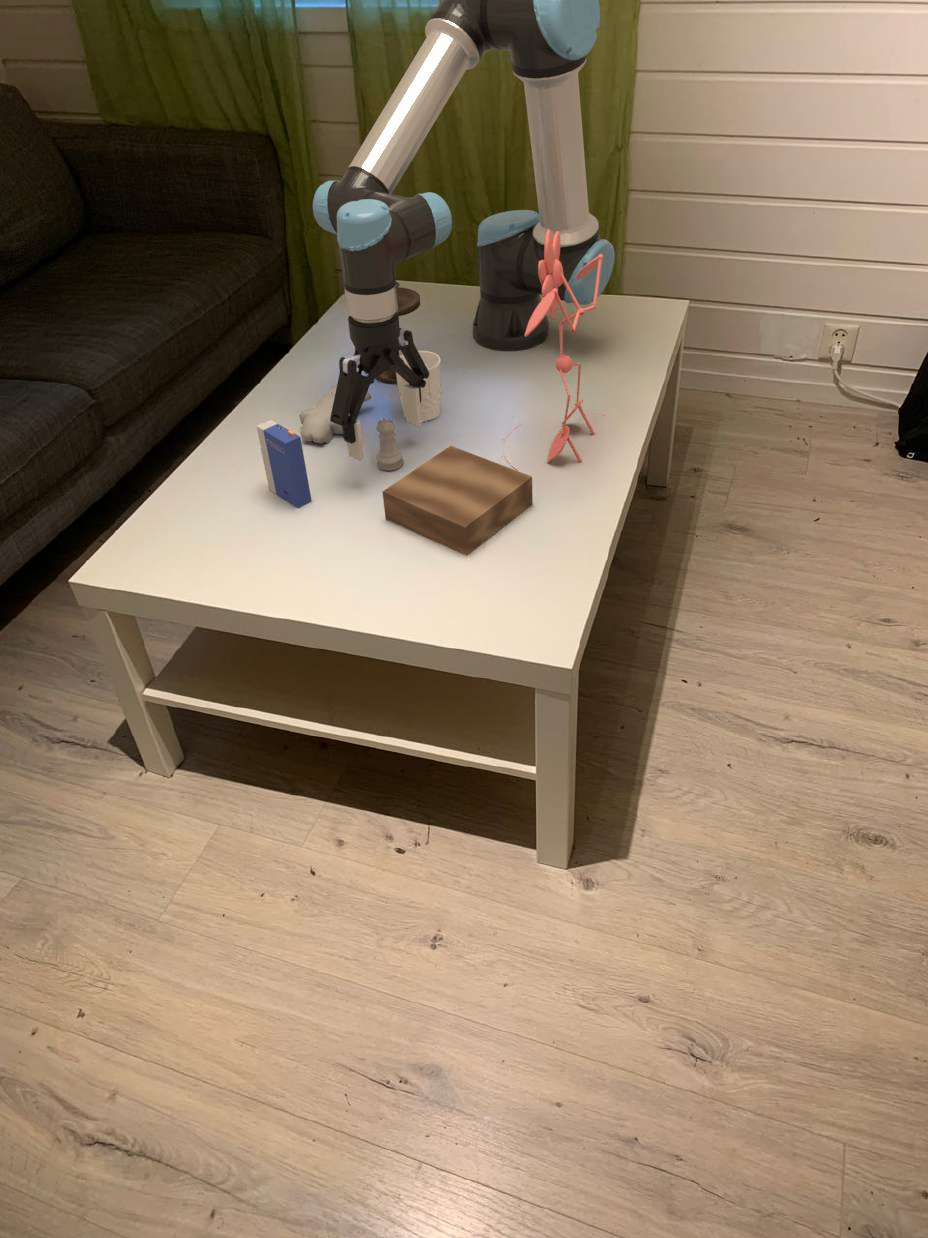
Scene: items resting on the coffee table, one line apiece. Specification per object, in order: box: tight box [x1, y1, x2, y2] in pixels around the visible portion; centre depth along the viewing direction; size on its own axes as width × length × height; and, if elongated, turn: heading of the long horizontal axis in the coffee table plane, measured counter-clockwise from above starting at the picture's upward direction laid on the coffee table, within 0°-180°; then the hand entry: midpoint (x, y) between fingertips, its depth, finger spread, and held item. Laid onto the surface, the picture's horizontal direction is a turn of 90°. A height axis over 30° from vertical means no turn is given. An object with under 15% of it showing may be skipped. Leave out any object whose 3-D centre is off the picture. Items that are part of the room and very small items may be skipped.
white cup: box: [396, 350, 442, 422], centre depth 175 cm, size 8×8×10 cm
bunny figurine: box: [298, 384, 372, 445], centre depth 175 cm, size 10×5×15 cm
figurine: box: [500, 229, 607, 470], centre depth 157 cm, size 15×26×35 cm, turn 162°
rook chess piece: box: [375, 417, 405, 472], centre depth 163 cm, size 4×4×8 cm
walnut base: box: [382, 445, 533, 556], centre depth 152 cm, size 16×16×5 cm
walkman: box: [256, 419, 312, 509], centre depth 156 cm, size 8×3×12 cm, turn 44°
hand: (386, 440), depth 162 cm, fingers open, 13 cm apart
